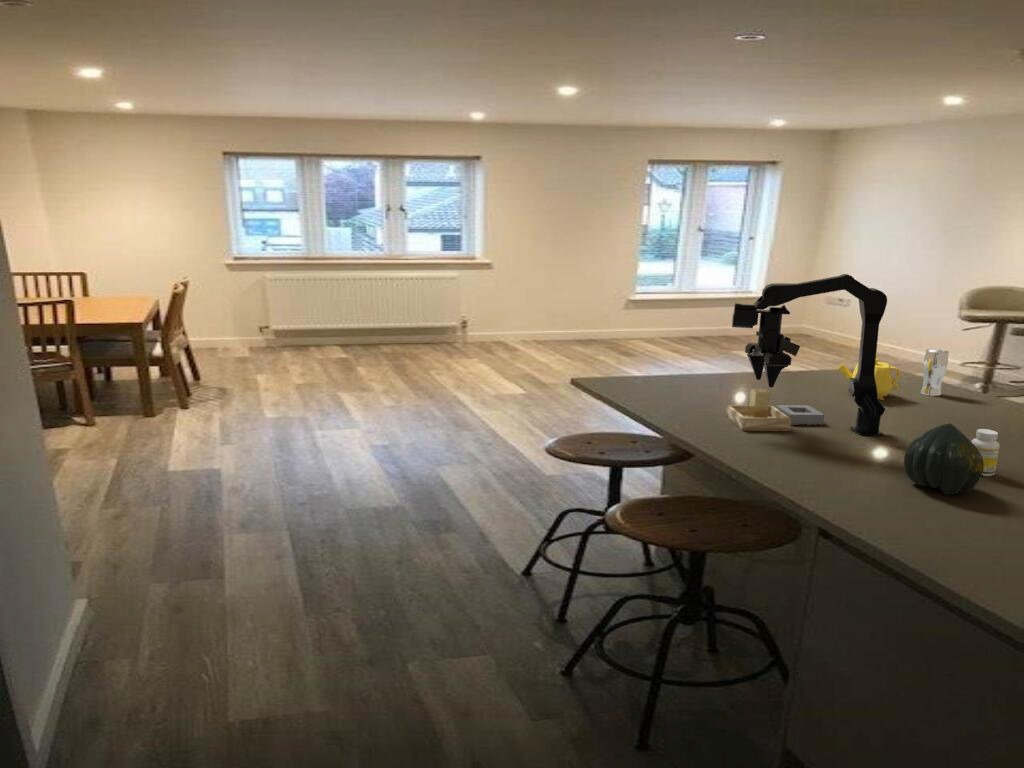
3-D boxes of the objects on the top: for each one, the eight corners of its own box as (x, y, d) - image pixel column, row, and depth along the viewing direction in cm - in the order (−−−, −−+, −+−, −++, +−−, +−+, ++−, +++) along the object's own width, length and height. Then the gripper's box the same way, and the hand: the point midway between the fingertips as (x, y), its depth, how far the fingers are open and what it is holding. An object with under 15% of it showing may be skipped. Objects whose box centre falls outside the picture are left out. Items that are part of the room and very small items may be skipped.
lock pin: (766, 422, 202) (770, 392, 200) (752, 422, 202) (756, 392, 200) (761, 418, 206) (764, 388, 204) (747, 418, 206) (750, 388, 204)
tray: (790, 430, 198) (791, 418, 197) (742, 430, 197) (743, 418, 196) (770, 416, 211) (772, 405, 210) (725, 416, 210) (726, 405, 210)
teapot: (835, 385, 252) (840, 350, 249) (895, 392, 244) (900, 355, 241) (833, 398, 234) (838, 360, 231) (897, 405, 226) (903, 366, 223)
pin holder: (823, 424, 204) (824, 414, 203) (789, 424, 204) (790, 414, 203) (807, 415, 214) (808, 405, 213) (775, 414, 213) (776, 405, 212)
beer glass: (914, 392, 244) (921, 349, 240) (927, 390, 247) (934, 348, 243) (933, 397, 238) (940, 353, 234) (946, 395, 240) (954, 352, 237)
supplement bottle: (967, 466, 172) (975, 426, 169) (995, 472, 168) (1003, 431, 166) (964, 472, 167) (971, 431, 165) (992, 478, 164) (1000, 436, 162)
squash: (933, 479, 148) (979, 424, 148) (879, 458, 162) (921, 408, 162) (968, 517, 152) (1011, 464, 153) (912, 493, 166) (952, 444, 167)
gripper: (813, 335, 189) (806, 391, 193) (784, 324, 207) (778, 376, 211) (772, 334, 189) (766, 391, 193) (746, 324, 207) (742, 376, 211)
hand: (764, 383), depth 202 cm, fingers open, 9 cm apart
